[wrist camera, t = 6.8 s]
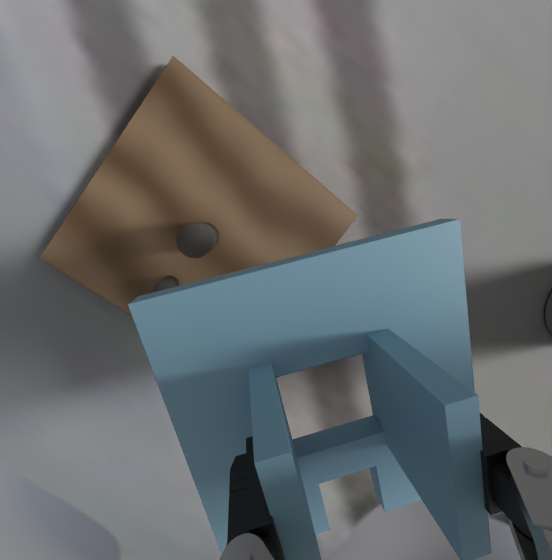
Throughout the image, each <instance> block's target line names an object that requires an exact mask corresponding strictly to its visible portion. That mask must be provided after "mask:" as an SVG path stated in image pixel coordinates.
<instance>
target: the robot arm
mask: <svg viewBox="0 0 552 560" xmlns="http://www.w3.org/2000/svg"><path fill="white" fill-rule="evenodd" d="M545 319H546V324H547V327H548V329H549V331H550V332H551V334H552V293H551V295H550V297H549V299H548V302H547V306H546V312H545ZM480 425H481V437H482V449H483V450H481V451H480V453H481V465H482V478H483V491H484V503H485V509H486V510H487V511H488V513H489V514H490V515H492V514H495V513H498V512H501V511H503V512H504V513H505V514H506V516H507V517H508V518H509V520H510V528H511V532H512V534H513V537H514V540H515V543H516V546H517V549H518V551H519V554H520V557H521V560H552V456H550V455H548V454H546V453H544V452H542V451H539V450H536V449H532V448H526V447H521V446H520V445H519V444H518V443H517V442H515V441H514V440H513V439H512V438H510V437H509V436H508V435H507V434H505V433H504V432H503V431H502V430H500V429H499V428H498V427H497V426H496V425H494V424H493V423H492V422H491V421H489V420H488V419H487V418H485V417H484V416H483V415H482V414H481V413H480ZM220 560H285V557H284V553H283V550H282V547H281V543H280V540H279V537H278V534H277V530H276V527H275V524H274V520H273V517H272V516H270V513H269V509H268V506H267V503H266V500H265V496H264V493H263V490H262V487H261V483H260V480H259V477H258V474H257V471H256V467H255V464H254V451H253V436H251V437H248V438H246V453H245V454H241V455H238V456H235V459H234V461H233V463H232V466H231V468H230V485H229V509H228V536H227V545H226V547H225V549H224V551H223V553H222V555H221V557H220Z"/></svg>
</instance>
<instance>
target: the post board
mask: <svg viewBox="0 0 552 560" xmlns="http://www.w3.org/2000/svg"><path fill="white" fill-rule="evenodd" d="M357 216H358V215H357V214H356V213H355V212H354V211H352V210H351V209H350V208H349V207H348V206H347V205H345V204H344V203H343V202H342V201H341V200H340V199H338V198H337V197H336V196H335V195H334V194H333V193H332V192H330V191H329V190H328V189H327V188H326V187H325V186H323V185H322V184H321V183H320V182H319V181H318V180H316V179H315V178H314V177H313V176H312V175H311V174H309V173H308V172H307V171H306V170H305V169H304V168H303V167H301V166H300V165H299V164H298V163H297V162H296V161H294V160H293V159H292V158H291V157H290V156H289V155H287V154H286V153H285V152H284V151H283V150H282V149H281V148H279V147H278V146H277V145H276V144H275V143H274V142H272V141H271V140H270V139H269V138H268V137H267V136H265V135H264V134H263V133H262V132H261V131H260V130H258V129H257V128H256V127H255V126H254V125H253V124H252V123H250V122H249V121H248V120H247V119H246V118H245V117H243V116H242V115H241V114H240V113H239V112H238V111H236V110H235V109H234V108H233V107H232V106H231V105H230V104H228V103H227V102H226V101H225V100H224V99H223V98H221V97H220V96H219V95H218V94H217V93H216V92H214V91H213V90H212V89H211V88H210V87H209V86H207V85H206V84H205V83H204V82H203V81H202V80H201V79H199V78H198V77H197V76H196V75H195V74H194V73H192V72H191V71H190V70H189V69H188V68H187V67H185V66H184V65H183V64H182V63H181V62H180V61H179V60H177V59H176V58H175V57H174V56H173V57H172V58H171V60H170V61H169V63H168V64H167V66H166V67H165V69H164V70H163V72H162V73H161V75H160V76H159V78H158V79H157V81H156V83H155V84H154V86H153V87H152V89H151V90H150V92H149V93H148V95H147V96H146V98H145V99H144V101H143V102H142V104H141V105H140V107H139V108H138V110H137V111H136V113H135V114H134V116H133V117H132V119H131V120H130V122H129V123H128V125H127V126H126V128H125V129H124V131H123V132H122V134H121V135H120V137H119V138H118V140H117V141H116V143H115V144H114V146H113V148H112V149H111V151H110V152H109V154H108V155H107V157H106V158H105V160H104V161H103V163H102V164H101V166H100V167H99V169H98V170H97V172H96V173H95V175H94V176H93V178H92V179H91V181H90V182H89V184H88V185H87V187H86V188H85V190H84V191H83V193H82V194H81V196H80V197H79V199H78V200H77V202H76V203H75V205H74V206H73V208H72V209H71V211H70V212H69V214H68V216H67V217H66V219H65V220H64V222H63V223H62V225H61V226H60V228H59V229H58V231H57V232H56V234H55V235H54V237H53V238H52V240H51V241H50V243H49V244H48V246H47V247H46V249H45V250H44V252H43V253H42V255H41V256H40V259H42V260H43V261H45V262H46V263H48V264H50V265H51V266H53V267H54V268H56V269H58V270H59V271H61V272H62V273H64V274H66V275H67V276H69V277H70V278H72V279H74V280H75V281H77V282H78V283H80V284H82V285H83V286H85V287H86V288H88V289H90V290H91V291H93V292H95V293H96V294H98V295H99V296H101V297H103V298H104V299H106V300H107V301H109V302H111V303H112V304H114V305H115V306H117V307H119V308H120V309H122V310H123V311H125V312H127V313H128V314H130V315H131V316H132V314H131V311H130V309H129V306H128V304H129V303H130V302H132V301H133V300H134V299H135V298H137V297H138V296H141V295H145V294H149V293H153V292H157V291H161V290H165V289H169V288H173V287H177V286H181V285H184V284H188V283H192V282H196V281H200V280H204V279H208V278H212V277H216V276H220V275H224V274H228V273H231V272H235V271H239V270H243V269H247V268H251V267H255V266H259V265H263V264H267V263H271V262H274V261H278V260H282V259H286V258H290V257H294V256H298V255H302V254H306V253H310V252H314V251H317V250H321V249H325V248H329V247H333V246H335V244H336V243H337V242H338V241H339V239H340V238H341V237H342V236H343V234H344V233H345V232H346V230H347V229H348V228H349V227H350V225H351V224H352V223H353V222H354V220H355V219H356V218H357Z"/></svg>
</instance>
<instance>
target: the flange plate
mask: <svg viewBox="0 0 552 560" xmlns="http://www.w3.org/2000/svg"><path fill="white" fill-rule="evenodd" d="M128 306H129V309H130V311H131V314H132V317H133V319H134V322H135V325H136V327H137V330H138V333H139V335H140V338H141V341H142V343H143V346H144V349H145V351H146V354H147V357H148V359H149V362H150V365H151V367H152V370H153V373H154V375H155V378H156V381H157V383H158V386H159V389H160V391H161V394H162V397H163V399H164V402H165V405H166V407H167V410H168V413H169V415H170V418H171V421H172V423H173V426H174V429H175V431H176V434H177V437H178V439H179V442H180V445H181V447H182V450H183V453H184V455H185V458H186V461H187V463H188V466H189V469H190V471H191V474H192V477H193V479H194V482H195V485H196V487H197V490H198V493H199V495H200V498H201V501H202V503H203V506H204V509H205V511H206V514H207V517H208V519H209V522H210V525H211V527H212V530H213V533H214V535H215V538H216V541H217V543H218V546H219V549H220V551H221V554H222V553H223V551H224V549H225V547H226V545H227V536H228V509H229V485H230V468H231V466H232V463H233V461H234V459H235V456H238V455H241V454H245V453H246V438H248V437H251V436H253V451H254V464H255V467H256V471H257V474H258V477H259V480H260V483H261V487H262V490H263V493H264V496H265V500H266V503H267V506H268V509H269V513H270V516H272V517H273V520H274V524H275V527H276V530H277V534H278V537H279V540H280V543H281V547H282V550H283V553H284V557H285V560H321V556H320V552H319V548H318V544H317V539H316V535H315V534H318V533H321V532H324V531H327V530H330V528H329V524H328V520H327V516H326V512H325V508H324V504H323V500H322V496H321V492H320V488H319V483H323V482H326V481H329V480H332V479H335V478H339V477H342V476H345V475H348V474H351V473H355V472H358V471H361V470H364V469H368V468H370V470H371V475H372V480H373V486H374V491H375V493H376V495H377V497H378V499H379V501H380V503H381V505H382V507H383V509H384V511H385V512H386V511H389V510H392V509H395V508H398V507H401V506H405V505H408V504H411V503H414V502H417V501H420V500H422V501H423V502H424V504H425V505H426V507H427V508H428V510H429V512H430V513H431V515H432V516H433V518H434V519H435V521H436V522H437V524H438V526H439V527H440V528H441V530H442V532H443V533H444V535H445V536H446V538H447V539H448V541H449V543H450V544H451V546H452V547H453V549H454V550H455V552H456V553H457V555H458V556H459V558H460V560H472V559H475V558H478V557H481V556H484V555H487V554H490V553H491V547H490V535H489V522H488V511H487V510H486V509H485V503H484V491H483V478H482V465H481V453H480V451H481V450H483V449H482V437H481V425H480V412H479V400H478V395H477V394H476V393H475V391H474V379H473V368H472V356H471V344H470V332H469V321H468V309H467V297H466V285H465V274H464V262H463V250H462V238H461V226H460V219H439V220H435V221H431V222H427V223H423V224H419V225H415V226H411V227H407V228H403V229H400V230H396V231H392V232H388V233H384V234H380V235H376V236H372V237H368V238H364V239H360V240H357V241H353V242H349V243H345V244H341V245H337V246H333V247H329V248H325V249H321V250H317V251H314V252H310V253H306V254H302V255H298V256H294V257H290V258H286V259H282V260H278V261H274V262H271V263H267V264H263V265H259V266H255V267H251V268H247V269H243V270H239V271H235V272H231V273H228V274H224V275H220V276H216V277H212V278H208V279H204V280H200V281H196V282H192V283H188V284H184V285H181V286H177V287H173V288H169V289H165V290H161V291H157V292H153V293H149V294H145V295H141V296H138V297H137V298H135V299H134V300H133V301H132V302H130V303H129V304H128ZM361 353H362V357H363V362H364V368H365V373H366V379H367V384H368V390H369V395H370V401H371V406H372V412H373V416H370V417H366V418H363V419H360V420H356V421H353V422H350V423H346V424H343V425H340V426H336V427H333V428H330V429H326V430H323V431H319V432H316V433H313V434H309V435H306V436H303V437H299V438H296V439H293V440H292V436H291V433H290V429H289V425H288V421H287V418H286V414H285V410H284V406H283V403H282V399H281V395H280V391H279V387H278V384H277V380H276V377H279V376H283V375H287V374H290V373H294V372H297V371H301V370H304V369H308V368H311V367H315V366H318V365H322V364H325V363H329V362H332V361H336V360H339V359H343V358H347V357H350V356H354V355H357V354H361Z"/></svg>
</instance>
